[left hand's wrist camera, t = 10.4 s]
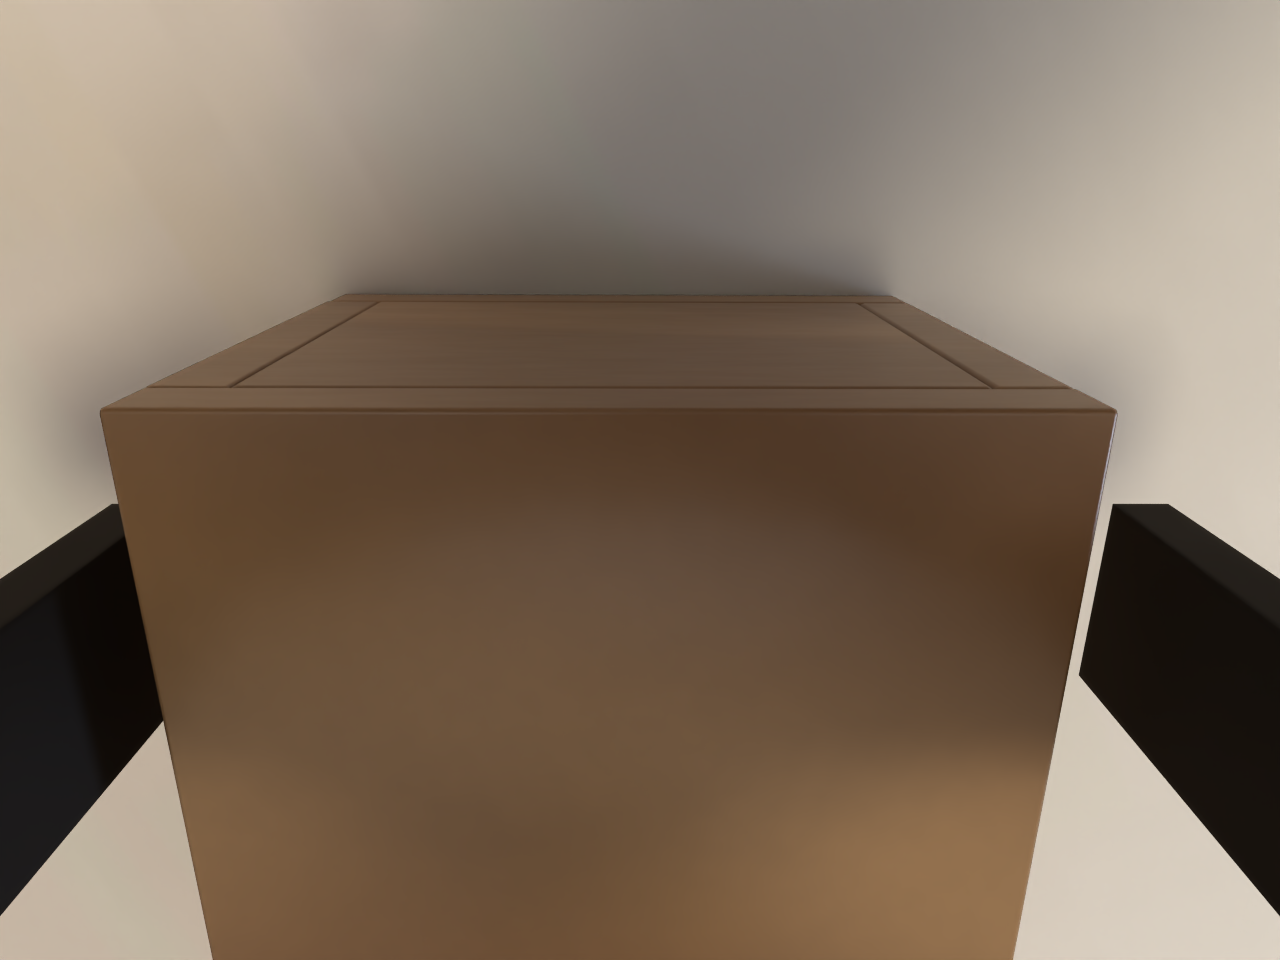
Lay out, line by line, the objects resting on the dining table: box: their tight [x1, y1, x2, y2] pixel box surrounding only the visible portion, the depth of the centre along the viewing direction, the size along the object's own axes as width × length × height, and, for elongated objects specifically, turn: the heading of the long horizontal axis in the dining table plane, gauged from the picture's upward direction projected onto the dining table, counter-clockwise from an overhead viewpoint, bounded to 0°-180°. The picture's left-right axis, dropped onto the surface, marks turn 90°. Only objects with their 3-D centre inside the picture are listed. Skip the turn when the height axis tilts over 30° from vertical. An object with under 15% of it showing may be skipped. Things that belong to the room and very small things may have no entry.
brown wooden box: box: [100, 294, 1117, 960], centre depth 16 cm, size 19×10×8 cm, turn 0°
